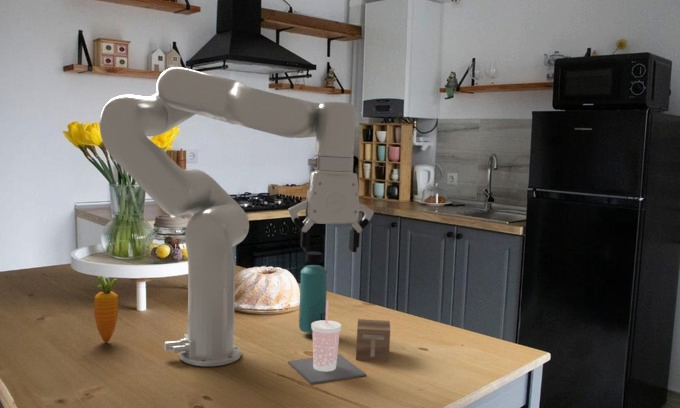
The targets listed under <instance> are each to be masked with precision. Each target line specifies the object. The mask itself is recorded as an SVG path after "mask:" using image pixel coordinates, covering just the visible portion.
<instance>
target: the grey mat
mask: <svg viewBox="0 0 680 408" xmlns="http://www.w3.org/2000/svg"><path fill="white" fill-rule="evenodd" d="M287 363H288V364H289V365H290V366H291V368H293V369H294V370H296V372H297V373H298V374H299V375H300V376H302V377H303V378H304V379H305V380H306V381H307V382H308V383H310V385H315V384H323V383H328V382H335V381H341V380H348V379H353V378H354V379H355V378H361V377H366V376H367V373H366V372H364V371H363V370H362V369H361V368H359V367H357V366H356V365H355V364H353V362H351V361H350V360H348V359H347V358H345V357H344V356H343V355H342V354H340V353H339V354H338V353H337V362H336V369H335V370H333V371H327V372H324V371H318V370H316V369H314V367H313V357H311V358H310V357H309V358H301V359H292V360H288V361H287Z"/></svg>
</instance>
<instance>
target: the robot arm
mask: <svg viewBox="0 0 680 408" xmlns="http://www.w3.org/2000/svg"><path fill="white" fill-rule="evenodd" d="M195 115H199V116H203V117H206V118H209V119H213V120H218V121H220V122H224V123H229V124H230V125H236V126H237V125H239V126H240V127H241V126H242V127H245V128H249V129H252V130H256V131H259V132H263V133H267V134H270V135H275V136H280V137H283V138H290V139H295V138H296V139H305V138H316V139H315V154H314V157H312V158H308V159H307V165H308V166H311V167H312V168H313V169H314V171H311V173H310V176H309V182H308V184H307V185H308V186H307V193H306V200H304V201H301V202H299V203H296V204H295V205H293V206H290V207H289V208H288V210H287V212H288V214H289V216H290V218H291V220H292V222H293V223H294V225H296V227H297V228H298V229H299V230H300V244H299V245H300V248H302V251H304V252H305V253H307V252H311V251H310V250H311V232H310V229H311V227H313V225H314V224H319V225H321V224H324V225H326V224H327V225H330V224H331V225H349V226H350V227H351V230H350V231H349V237H348V238H349V239H348V241H349V242H348V243H349V244H348V249H349V250H348V251H351V252H353V253H357V251H358V250H357V249H359V247H360V237H361V236H360V235H361V233H362V232H363V230H364V229H365V228H366V227H367V226H368V225H369V223H370V221H371V220H372V218H373V216H374V214H375V212H374V210H373V209H371V208H369V207H368V206H365V204H363V203H361V202H360V193H359V180H358V174H357V173H355V172H354V156H355V155H354V154H355V136H356V135H355V134H356V133H355V132H356V119H357V109H356V107H355V105H354V104H353V103H349V102H343V101H342V102H338V101H324V102H320V103H319V102H312V101H309V100H304V99H301V98H297V97H291V96H287V95H282V94H277V93H273V92H270V91H266V90H262V89H258V88H255V87H251V86H248V85H246V84H244V83H243V82H241V81H238V80H235V79H231V78H226V77H222V76H217V75H215V74H210V73H206V72H201V71H198V70H195V69H191V68H185V67H181V66H180V67H179V66H174V67H170V68H168V69H165V70H164V71H163V72H161V74H160V75H159V77H158V79H157V82H156V93H154V94H153V95H151V96H142V95H135V94H122V95H118V96H116V97H112V98H111V99H110V100H109V101H108V102H106V104H105V105H104V107H103V108H102V111H101V114H100V117H99V132H100V137H101V141H102V143H103V145H104V147H105V149H106V151H107V152H108V154H109V155H110V156H111V158H112V159H113V160H114V161H115V162H116V163H117V164H118V166H120V167H121V168H122V169H123V170H124V171H125V172H126V173H127V174H128V175H129V176H130V177H131V178H132V179H133V180H134V181H135V182H136V184H137V185H138V186H139V187H140V188H141V190H143V191H144V192H145V193H146V194H147V195H148V196H149V197H150V198H151V199H152V200H153V202H155V204H156V205H157V206H158V207H159V208H161V210H162V211H163V212H165V213H166V214H167V215H170V216H173V217H180V216H182V217H183V216H186V215H189V214H190V216H192V217H191V218H190V219H189V221H188V223H187V224H186V227H185V232H184V233H185V234H184V235H185V236H184V237H185V238H184V240H185V241H184V242H185V247H186V252H187V253H186V254H187V255H186V256H187V267H188V268H187V271H188V277H187V279H188V281H187V282H188V283H187V284H188V287H187V288H188V289H187V290H188V291H187V292H188V294H187V300H188V301H187V333H184V334H183V338H179V340H169V341H168V340H167V341H164V342H163V347H164V348H163V349H164V351H165V352H168V351H169V352H170V351H172V353H173V354H176V353H177V354H178V353H179V359H180V360H181V361H182V362H183V363H186V364H189V365H191V366H196V367H221V366H225V365H229V364H233V363H235V362H236V361H238V360H239V359H240V358H241V356H242V354H241V352H242V351H241V348H240V347H239V346H237V345H236V344H235V343H234V338H235V337H234V336H235V332H234V331H235V295H236V294H235V293H236V292H235V291H236V272H235V271H236V269H235V268H236V267H235V259H234V253H233V247H235V246H237V245H238V244H240V243H241V242H243V241H244V240H245V238H246V237H247V235H248V233H249V229H250V222H249V218H248V215H247V213H246V212H245V210H244V208H243V207H241V205H240V204H238V202H237V201H236V200H235V199H234V198H233V197H232V196H231V195H230V194H229V193H228V192H227V191H226V190H225V189H224V188H223V187H222V186H221V185H220V184H219V182H217V180H215V179H214V178H213V177H212V176H210V175H209V174H207V173H206V172H204V171H202V170H200V169H197V168H196V169H195V168H187V169H186V168H185V169H184V168H183V167H181V166H179V164H177V163H176V162H175V161H174V160H173V159H172V158H171V157H170V156H169V155H168V154H167V152H166V151H165V150H164V149H162V148H161V147H160V146H159V145H157V144H156V143H154V142H153V141H152V140H151V139H149V137H155V136H160V135H162V134H164V133H167V132H168V131H170V130H172V129H173V128H175V127H177V126H179V125H180V124H182V123H184V122H186V121H188V119H190V118H192V117H194V116H195ZM303 210H305V211H304V213H305V219H304V220H303V221H302V220H301V219H300V218H299V215H298V213H300V212H302V211H303ZM360 211H361V212H363V213H364V215H363V217H362V218H361V219H360V218H359V217H360V216H359V215H360ZM359 219H360V220H359Z"/></svg>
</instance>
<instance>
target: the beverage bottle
mask: <svg viewBox="0 0 680 408" xmlns="http://www.w3.org/2000/svg"><path fill="white" fill-rule="evenodd" d="M323 255H324V254H323V253H322V252H320V251H309V252H305V260H304V261H305V262H306V263H311V264H310V265H309V264H308V265H305V266H304V267H303V268H302V269H301V270H300V287H299V289H300V291H299V305H298V307H299V312H298V328H299V330H300V331H301V332H303V333H305V334H306V333H308V334H313V330H312V328H311V327H312V326H311V324H312V323H313V322H315V321H320V320H325V317H326V300H327V293H328V292H327V274H328V271H327V269H325V267H324V266H321V265H319V264H320V263H323V261H324V259H323V258H324V257H323ZM316 264H317V265H316Z"/></svg>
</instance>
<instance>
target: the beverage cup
mask: <svg viewBox="0 0 680 408" xmlns="http://www.w3.org/2000/svg"><path fill="white" fill-rule="evenodd" d="M328 317H329V300H328V299H326V317H325V320H320V321H315V322H313V323H312V324H311V326H312V327H311V328H312V330H313V333H312V358H313V367H314V369H316V370H318V371H324V372H327V371H333V370H335V369H336V362H337V355H338V351H339V343H340V342H339V341H340V335H341V334H340V332H341V331H342V324H341V323H340V322H338V321H334V320H329V319H328Z"/></svg>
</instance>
